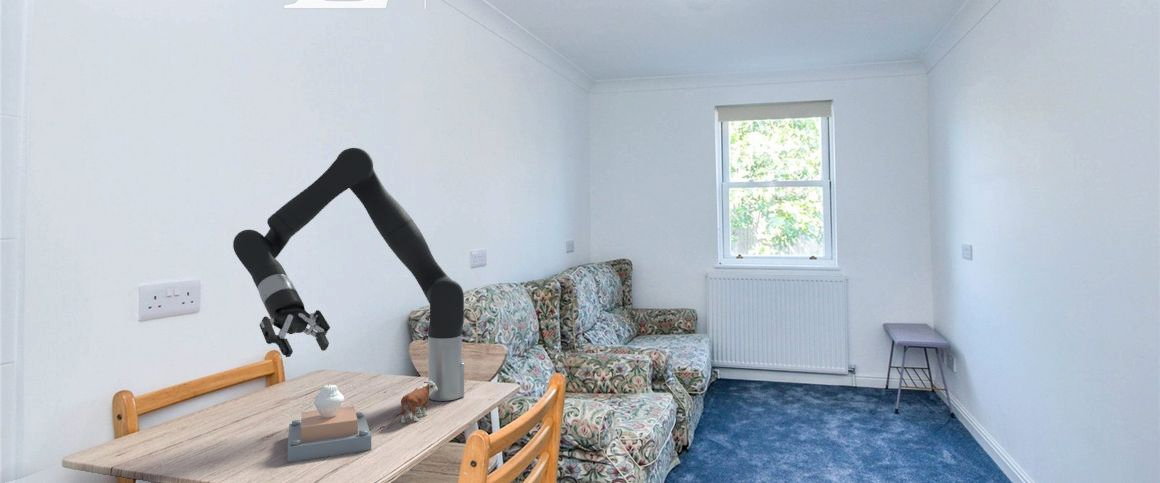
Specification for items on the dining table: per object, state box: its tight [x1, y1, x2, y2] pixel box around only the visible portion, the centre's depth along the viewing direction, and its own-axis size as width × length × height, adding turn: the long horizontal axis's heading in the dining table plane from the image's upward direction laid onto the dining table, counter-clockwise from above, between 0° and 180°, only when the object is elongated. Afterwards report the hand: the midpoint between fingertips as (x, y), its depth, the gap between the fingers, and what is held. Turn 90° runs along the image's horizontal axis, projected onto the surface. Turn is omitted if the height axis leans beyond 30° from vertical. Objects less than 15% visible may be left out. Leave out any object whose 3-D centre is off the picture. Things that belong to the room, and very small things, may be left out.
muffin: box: [313, 384, 345, 418], centre depth 129 cm, size 6×6×7 cm
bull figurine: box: [400, 380, 438, 424], centre depth 147 cm, size 4×13×8 cm, turn 161°
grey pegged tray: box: [287, 405, 372, 463], centre depth 129 cm, size 16×16×6 cm
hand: (308, 351), depth 133 cm, fingers open, 8 cm apart
